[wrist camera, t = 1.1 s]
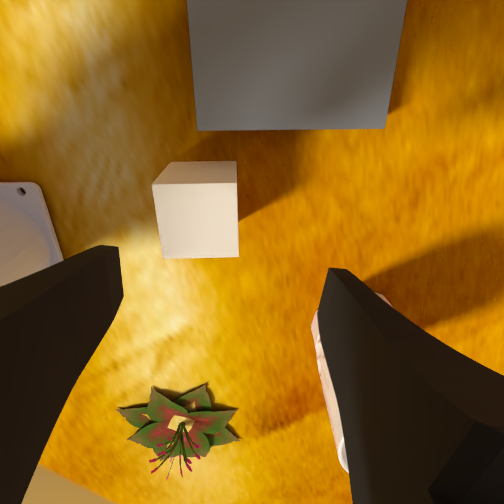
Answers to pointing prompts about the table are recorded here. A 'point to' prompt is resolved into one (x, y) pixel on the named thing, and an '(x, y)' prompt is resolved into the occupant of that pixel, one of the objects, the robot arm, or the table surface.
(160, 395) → the lily flower
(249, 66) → the slate tile
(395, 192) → the table surface
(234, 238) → the cream block
